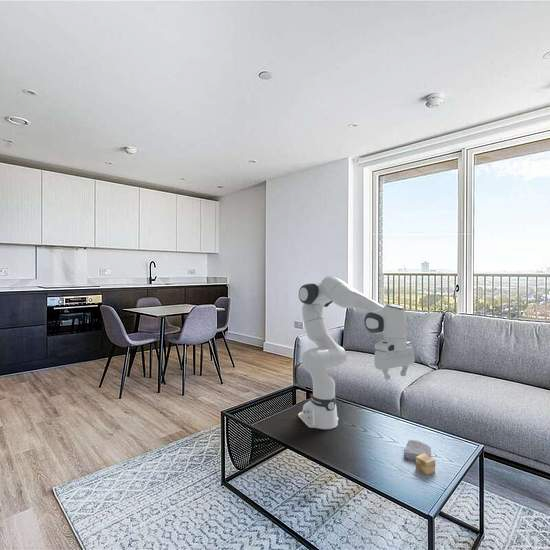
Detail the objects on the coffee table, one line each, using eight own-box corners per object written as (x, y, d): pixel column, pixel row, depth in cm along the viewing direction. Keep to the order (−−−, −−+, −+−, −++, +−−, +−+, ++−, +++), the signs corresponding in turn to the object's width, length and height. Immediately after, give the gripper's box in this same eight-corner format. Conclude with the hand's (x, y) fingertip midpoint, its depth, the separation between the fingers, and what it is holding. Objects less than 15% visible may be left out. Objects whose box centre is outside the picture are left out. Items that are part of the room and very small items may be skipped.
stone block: (430, 456, 151) (407, 445, 156) (433, 446, 150) (409, 435, 155) (426, 470, 141) (401, 459, 146) (429, 460, 140) (404, 448, 145)
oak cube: (415, 469, 138) (416, 456, 138) (423, 465, 141) (424, 453, 140) (426, 475, 134) (427, 462, 134) (435, 471, 136) (435, 459, 136)
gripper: (406, 340, 151) (406, 372, 151) (371, 345, 141) (371, 379, 141) (418, 342, 145) (418, 375, 145) (383, 348, 135) (383, 383, 135)
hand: (395, 377), depth 143 cm, fingers open, 8 cm apart
